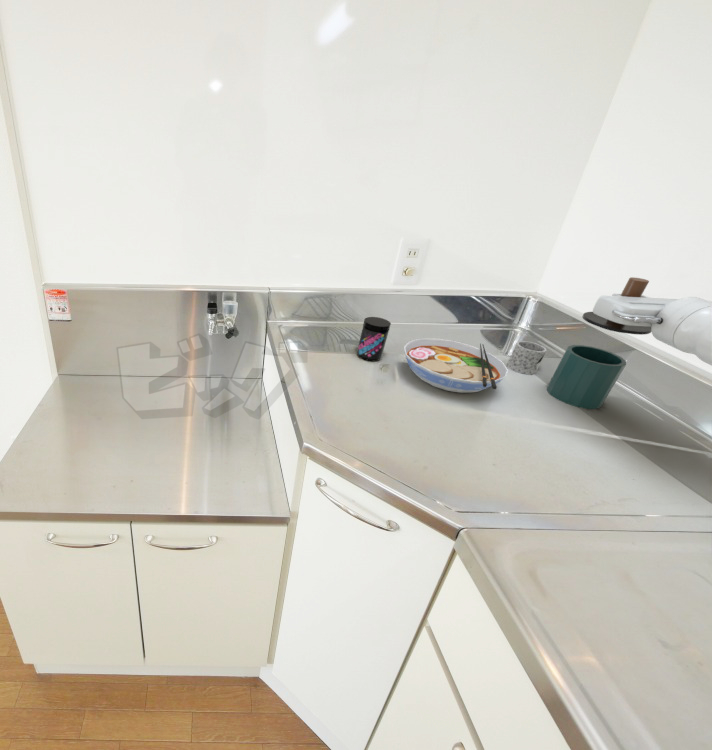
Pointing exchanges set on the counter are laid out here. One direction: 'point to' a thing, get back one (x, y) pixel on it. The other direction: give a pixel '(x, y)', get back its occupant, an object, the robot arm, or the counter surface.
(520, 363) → the mug
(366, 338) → the supplement container
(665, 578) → the counter surface
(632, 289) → the lid
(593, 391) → the teal faceted tumbler
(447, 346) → the ramen bowl
